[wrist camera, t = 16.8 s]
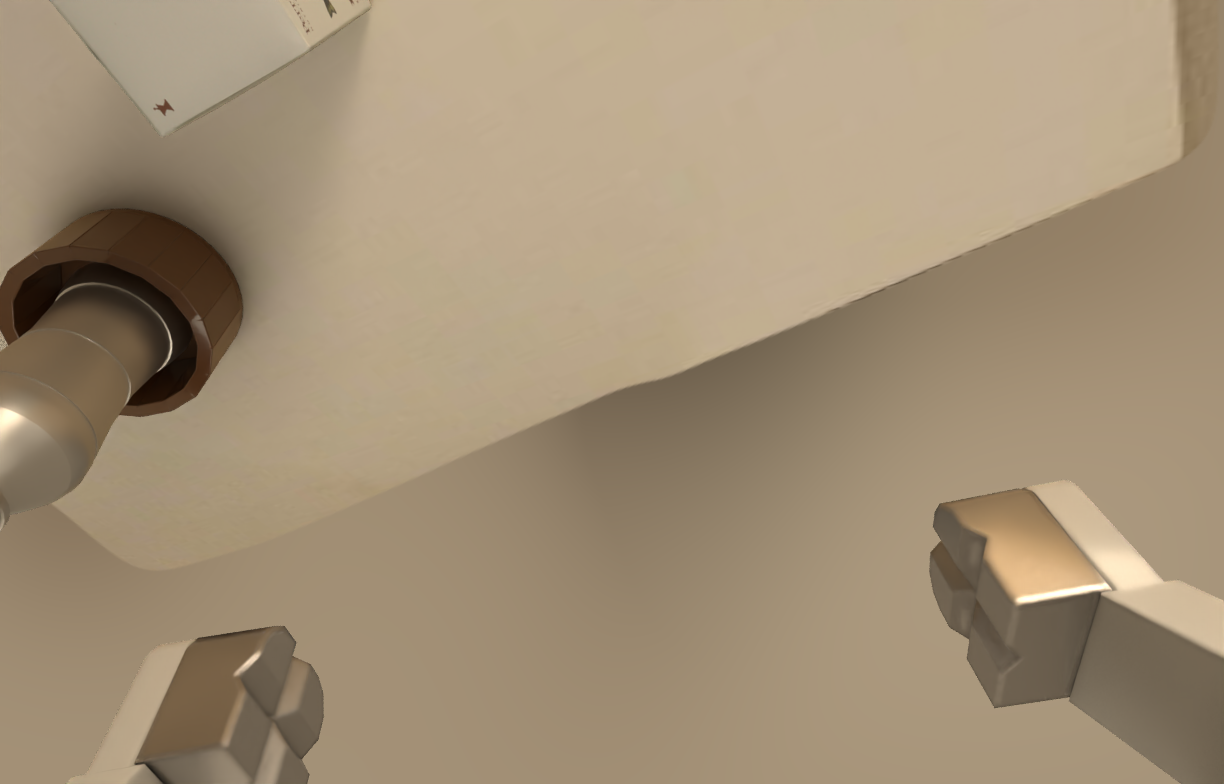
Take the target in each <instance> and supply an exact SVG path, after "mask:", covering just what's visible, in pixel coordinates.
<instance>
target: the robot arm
mask: <svg viewBox="0 0 1224 784" xmlns="http://www.w3.org/2000/svg"><path fill="white" fill-rule="evenodd" d="M933 527H934V529H935V531H936V532H937V534H938V536H939V537H940V539H941V541H940V542H939V543H938V545H937V546H936V547H935V548H934V549H933V550H932V551H931V553H930V577H931V582H932V587H933V592H934V595H935V598H936V600H937V603H938V606H939V608H940V611H941V612H942V614H943V616H944V618H945V620H946V622H947V624H948V626H949V627H950V628H951V629H953V630H955V631H956V632H958V633H960V634H961V635H963V636H965V637H966V638H968V639H969V647H968V654H967V660H968V662H969V663H970V665H971V667H972V669H973V670H974V672H975V674H976V676H977V678H978V680H979V681H980V683H981V685H982V686H983V688H984V690H985V692H986V694H987V695H988V697H989V699H990V701H991V702H992V704H993V706H994V708H998V707H1006V706H1012V705H1019V704H1026V703H1033V702H1040V701H1046V700H1053V699H1060V698H1067V697H1070V699H1069V701H1070V702H1071V703H1072V704H1074V705H1075V706H1077V707H1078V708H1079V709H1081V710H1082V711H1083V712H1085V713H1086V714H1087V715H1089V716H1090V717H1091V718H1093V719H1094V720H1095V721H1097V722H1098V723H1100V724H1101V725H1103V726H1104V727H1105V728H1106V729H1108V730H1109V731H1111V732H1112V733H1113V734H1114V735H1116V736H1117V737H1119V738H1120V739H1121V740H1122V741H1124V742H1126V743H1127V744H1128V745H1129V746H1131V747H1132V748H1133V749H1135V750H1136V751H1138V752H1139V753H1140V754H1142V755H1143V756H1144V757H1146V758H1147V759H1148V760H1150V761H1151V762H1152V763H1154V764H1155V765H1156V766H1158V767H1159V768H1160V769H1162V770H1163V771H1164V772H1166V773H1167V774H1169V775H1170V776H1171V777H1173V778H1174V779H1175V780H1177V781H1178V782H1179V783H1181V784H1224V601H1223V600H1221V599H1219V598H1217V597H1214V596H1212V595H1210V594H1208V593H1206V592H1204V591H1202V590H1199V589H1197V588H1195V587H1193V586H1191V585H1188V584H1186V583H1184V582H1182V581H1180V580H1173V581H1166V582H1164V581H1163V580H1162V578H1161V577H1160V576H1159V575H1158V574H1157V573H1156V572H1155V571H1154V570H1153V569H1152V567H1151V566H1150V565H1149V564H1148V563H1147V562H1146V561H1145V560H1144V559H1143V558H1142V556H1140V554H1139V553H1138V552H1137V551H1136V550H1135V549H1134V548H1133V547H1132V546H1131V544H1130V543H1129V542H1128V541H1127V540H1126V539H1125V538H1124V537H1123V536H1122V534H1121V533H1120V532H1119V531H1118V530H1117V529H1116V528H1115V527H1114V526H1113V525H1112V523H1111V522H1110V521H1109V520H1108V519H1107V518H1106V517H1105V516H1104V515H1103V514H1102V512H1100V510H1099V509H1098V508H1097V507H1096V506H1095V505H1094V504H1093V503H1092V502H1091V500H1090V499H1089V498H1088V497H1087V496H1086V495H1085V494H1084V493H1083V492H1082V490H1081V489H1080V488H1079V487H1078V486H1077V485H1076V484H1074V483H1072V482H1070V481H1068V480H1062V481H1057V482H1052V483H1046V484H1041V485H1036V486H1030V487H1025V488H1022V489H1013V490H1007V491H1002V492H997V493H992V494H987V495H982V496H977V497H971V498H966V499H961V500H956V501H951V502H946V503H941V504H939V506H938V507H937V509H936V511H935V514H934V523H933ZM295 646H296V641H295V640H294V639H293V637H292V636H291V634H290V633H289V632H288V630H287V629H286V627H285V626H272V627H266V628H259V629H253V630H246V631H240V632H233V633H227V634H221V635H214V636H208V637H202V638H197V639H192V640H186V641H180V642H174V643H168V644H162V645H158V646H157V647H156V648H155V649H153V650H152V651H151V652H150V653H149V654H148V655H147V656H146V657H145V659H144V661H143V663H142V665H141V667H140V669H139V671H138V673H137V675H136V677H135V679H134V681H133V683H132V685H131V687H130V689H129V691H128V692H127V694H126V697H125V699H124V701H123V702H122V704H121V706H120V708H119V710H118V712H117V714H116V717H115V718H114V720H113V722H112V724H111V726H110V728H109V730H108V732H107V734H106V736H105V738H104V740H103V742H102V744H101V746H100V748H99V749H98V751H97V753H96V755H95V757H94V759H93V761H92V763H91V765H90V767H89V769H88V771H87V773H86V774H83V775H78V776H74V777H72V778H71V779H70V780H69V781H68V782H67V783H66V784H307V782H308V778H309V773H308V771H307V769H306V767H305V765H304V763H303V761H302V758H303V757H304V756H305V755H306V754H307V752H308V751H309V750H310V749H311V748H312V746H313V745H314V744H315V743H316V742H317V741H318V739H319V734H320V730H321V726H322V722H323V716H324V714H323V690H322V687H321V684H320V681H319V677H318V675H317V674H316V672H315V670H314V669H313V667H312V666H311V664H309V663H307V662H304V661H302V660H300V659H298V658H296V657H294V656H292V655H293V652H294V649H295Z"/></svg>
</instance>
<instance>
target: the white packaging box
mask: <svg viewBox="0 0 1224 784" xmlns="http://www.w3.org/2000/svg"><path fill="white" fill-rule="evenodd" d="M49 1H50V2H51V3H52V4H53V6H54V7H55V8H56V9H57V10H58V12H59V13H60V14H61V15H62V17H63V18H64V19H65V20H66V21H67V23H68V24H69V25H70V26H71V27H72V29H73V30H74V31H75V32H76V34H77V35H78V36H79V37H80V39H81V40H82V41H83V42H84V44H85V45H86V46H87V48H88V49H89V50H90V52H91V53H92V54H93V55H94V57H95V58H96V59H97V60H98V61H99V62H100V63H101V64H102V65H103V67H104V68H105V69H106V70H107V71H108V73H109V74H110V75H111V76H112V78H113V79H114V80H115V81H116V82H117V84H118V85H119V86H120V87H121V89H122V90H123V91H124V92H125V93H126V95H127V96H128V97H129V98H130V100H131V101H132V102H133V103H134V105H135V106H136V107H137V108H138V109H139V111H140V112H141V113H142V114H143V116H144V117H145V118H146V119H147V120H148V122H149V123H150V124H151V125H152V127H153V128H154V130H155V131H156V132H157V133H158V135H159V136H161V137H166V136H168V135H170V134H172V133H174V132H176V131H177V130H179V129H181V128H183V127H185V126H186V125H188V124H190V123H192V122H194V121H195V120H197V119H199V118H201V117H203V116H204V115H206V114H208V113H210V112H212V111H214V110H215V109H217V108H219V107H221V106H222V105H224V104H226V103H227V102H229V101H231V100H233V99H234V98H236V97H238V96H239V95H241V94H243V93H244V92H246V91H248V90H250V89H251V88H253V87H255V86H256V85H258V84H260V83H261V82H263V81H265V80H266V79H268V78H269V77H271V76H273V75H274V74H276V73H277V72H279V71H280V70H282V69H284V68H285V67H287V66H288V65H290V64H291V63H293V62H294V61H296V60H297V59H299V58H300V57H302V56H303V55H305V54H306V53H308V52H309V51H311V50H312V49H314V48H315V47H317V46H318V45H320V44H321V43H323V42H324V41H325V40H327V39H328V38H330V37H331V36H333V35H334V34H336V33H337V32H338V31H340V30H341V29H342V28H344V27H345V26H347V25H348V24H350V23H351V22H352V21H354V20H355V19H357V18H358V17H360V16H361V15H363V14H364V13H366V12H367V11H369V10H370V9H371V4H370V2H369V1H368V0H49Z"/></svg>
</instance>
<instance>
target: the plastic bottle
mask: <svg viewBox="0 0 1224 784" xmlns="http://www.w3.org/2000/svg"><path fill="white" fill-rule="evenodd" d="M192 335H193V332H192V329H191V326H190V323H189V321H188V320H187V319H186V318H185V316H184V315H183V314H182V313H181V311H180V310H179V309H178V308H177V306H176V305H175V304H174V302H173V301H172V300H171V299H170V298H169V297H168V296H167V295H165V294H164V293H162V292H161V291H160V290H158V289H157V288H156V287H154V286H153V285H151V284H150V283H149V282H147V281H146V280H145V279H143V278H142V277H139V276H137V275H134V274H132V273H129V272H127V271H124V270H122V269H119V268H117V267H114V266H112V265H109V264H106V263H98V262H92V263H90V264H87V265H85V266H84V267H82V268H80V269H78V270H77V271H76V272H75V273H74V274H73V275H72V276H71V277H70V279H69V280H68V281H67V282H66V284H65V285H64V286H63V288H62V289H61V291H60V293H59V295H58V296H57V298H56V300H55V302H54V304H53V305H52V306H51V307H50V308H49V309H48V310H47V312H46V313H45V314H44V315H43V316H42V317H41V318H40V319H39V321H38V322H37V323H36V324H35V325H34V326H33V327H32V328H31V329H30V330H29V331H27V332H26V333H25V334H23V335H22V336H21V337H20V338H19V339H17V340H16V341H14V342H13V343H11V344H10V345H8V346H7V347H6V348H4V349H3V350H2V351H0V531H1V530H2V529H3V527H4V526H5V525H6V523H7V522H8V520H9V517H10V515H12V514H17V513H21V512H25V511H28V510H32V509H35V508H39V507H42V506H45V505H48V504H50V503H52V502H54V501H56V500H58V499H60V498H61V497H63V496H64V495H66V494H67V493H69V492H71V491H72V490H73V489H75V488H76V487H77V486H78V485H79V484H80V483H81V481H82V480H83V478H84V476H85V475H86V473H87V472H88V470H89V469H90V467H91V466H92V464H93V462H94V459H95V458H96V456H97V454H98V452H99V450H100V448H101V446H102V444H103V442H104V440H105V438H106V436H107V434H108V432H109V430H110V428H111V426H112V424H113V423H114V421H115V420H116V418H117V417H118V415H119V414H120V413H121V411H122V409H123V408H124V407H125V405H126V404H127V402H128V401H129V399H130V398H131V396H132V395H133V394H134V393H135V392H136V391H137V390H138V389H139V388H140V387H141V386H142V385H143V384H145V383H146V382H147V381H148V380H149V379H150V378H151V377H152V376H153V375H154V374H155V373H156V372H158V371H160V370H161V369H163V368H164V367H166V366H167V365H169V364H170V363H171V362H172V361H173V360H174V359H176V358H177V357H178V356H179V355H180V354H181V353H182V352H184V351H185V349H186V348H187V346H188V345H189V343H190V341H191V338H192Z"/></svg>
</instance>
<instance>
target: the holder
mask: <svg viewBox="0 0 1224 784" xmlns="http://www.w3.org/2000/svg"><path fill="white" fill-rule="evenodd" d="M92 262H98V263H106V264H109V265H112V266H114V267H117V268H119V269H122V270H124V271H127V272H129V273H132V274H134V275H137V276H139V277H142V278H143V279H145V280H146V281H147V282H149V283H150V284H151V285H153V286H154V287H156V288H157V289H158V290H160V291H161V292H162V293H164V294H165V295H167V296H168V297H169V298H170V299H171V300H172V301H173V302H174V304H175V305H176V306H177V308H178V309H179V310H180V311H181V313H182V314H183V315H184V316H185V318H186V319H187V320H188V321H189V323H190V326H191V329H192V332H193V335H192V338H191V341H190V343H189V345H188V346H187V348H186V349H185V351H184V352H182V353H181V354H180V355H179V356H178V357H177V358H176V359H174V360H173V361H172V362H171V363H170V364H169V365H167V366H166V367H164V368H163V369H161V370H160V371H158V372H156V373H155V374H154V375H153V376H152V377H151V378H150V379H149V380H148V381H147V382H146V383H145V384H143V385H142V386H141V387H140V388H139V389H138V390H137V391H136V392H135V393H134V394H133V395H132V396H131V398H130V399H129V401H128V402H127V404H126V405H125V407H124V408H123V409H122V411H121V413H120V414H119V415H125V416H136V417H141V416H142V417H143V416H149V415H154V414H159V413H165V412H170V411H172V410H175V409H176V408H178V407H180V406H181V405H183V404H185V403H186V402H188V401H190V400H191V399H193V398H195V397H196V396H197V395H198V393H199V392H200V390H201V389H202V387H203V386H204V384H205V383H206V381H207V380H208V378H209V377H210V375H211V374H212V372H213V371H214V369H215V368H216V366H217V365H218V363H219V362H220V360H221V358H222V357H223V355H224V354H225V352H226V351H227V349H228V348H229V346H230V345H231V343H232V342H233V340H234V339H235V337H236V336H237V333H238V330H239V328H240V325H241V320H242V311H243V306H242V298H241V294H240V290H239V286H238V284H237V282H236V279H235V277H234V275H233V273H232V272H231V270H230V268H229V266H228V265H227V264H226V262H225V261H224V260H223V258H222V257H221V256H220V255H219V254H218V253H217V251H216V250H215V249H214V248H213V247H212V246H211V245H210V244H208V243H207V242H206V241H205V240H204V239H203V238H201V237H200V236H199V235H197V234H196V233H194V232H193V231H192V230H190V229H188V228H186V227H185V226H183V225H181V224H179V223H177V222H175V221H173V220H171V219H168V218H166V217H163V216H160V215H157V214H154V213H150V212H146V211H141V210H133V209H108V210H101V211H97V212H93V213H90V214H88V215H85V216H83V217H81V218H79V219H77V220H76V221H74V222H73V223H71V224H70V225H69V226H67V227H66V228H64V229H63V230H62V231H60V232H59V233H57V234H56V235H55V236H53V237H52V238H51V239H49V240H48V241H47V242H45V243H44V244H43V245H41V246H40V247H38V248H37V249H36V250H34V251H33V252H32V253H30V254H29V255H28V256H26V257H25V258H24V259H22V260H21V261H20V262H18V263H17V264H16V265H14V266H13V267H12V268H10V269H9V270H8V272H7V274H6V276H5V278H4V280H3V282H2V284H1V287H0V330H1V332H2V334H3V336H4V338H5V340H6V342H7V344H8V345H10V344H11V343H13V342H14V341H16V340H17V339H19V338H20V337H21V336H22V335H23V334H25V333H26V332H27V331H29V330H30V329H31V328H32V327H33V326H34V325H35V324H36V323H37V322H38V321H39V319H40V318H41V317H42V316H43V315H44V314H45V313H46V312H47V310H48V309H49V308H50V307H51V306H52V305H53V304H54V302H55V300H56V298H57V296H58V295H59V293H60V291H61V289H62V288H63V286H64V285H65V284H66V282H67V281H68V280H69V279H70V277H71V276H72V275H73V274H74V273H75V272H76V271H77V270H78V269H80V268H82V267H84V266H85V265H87V264H90V263H92Z"/></svg>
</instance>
